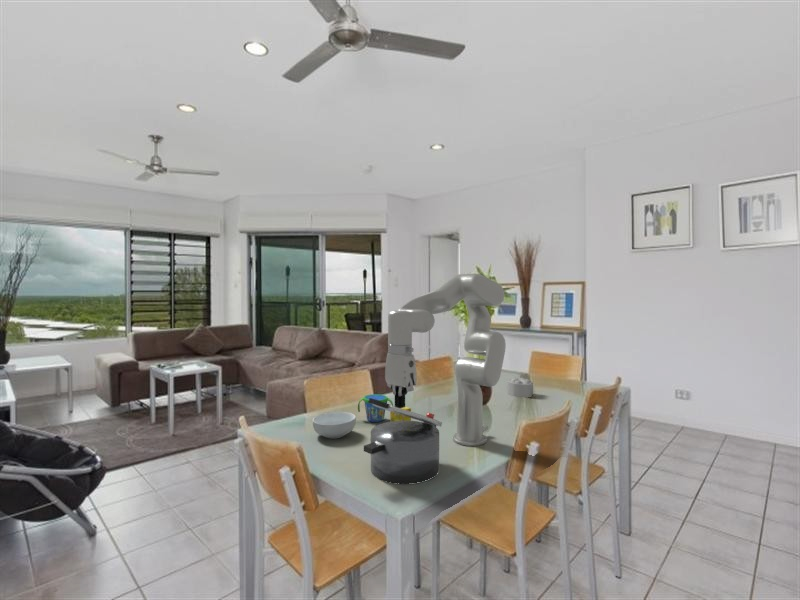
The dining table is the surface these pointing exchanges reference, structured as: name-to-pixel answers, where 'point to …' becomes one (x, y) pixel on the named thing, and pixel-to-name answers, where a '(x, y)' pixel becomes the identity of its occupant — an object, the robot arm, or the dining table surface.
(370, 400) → the lid
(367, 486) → the dining table surface
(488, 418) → the dining table surface
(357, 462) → the dining table surface
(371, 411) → the snack cup
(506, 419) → the dining table surface
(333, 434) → the cereal bowl
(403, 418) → the supplement box
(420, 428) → the cooker
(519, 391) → the lumpy-topped squat cylinder
